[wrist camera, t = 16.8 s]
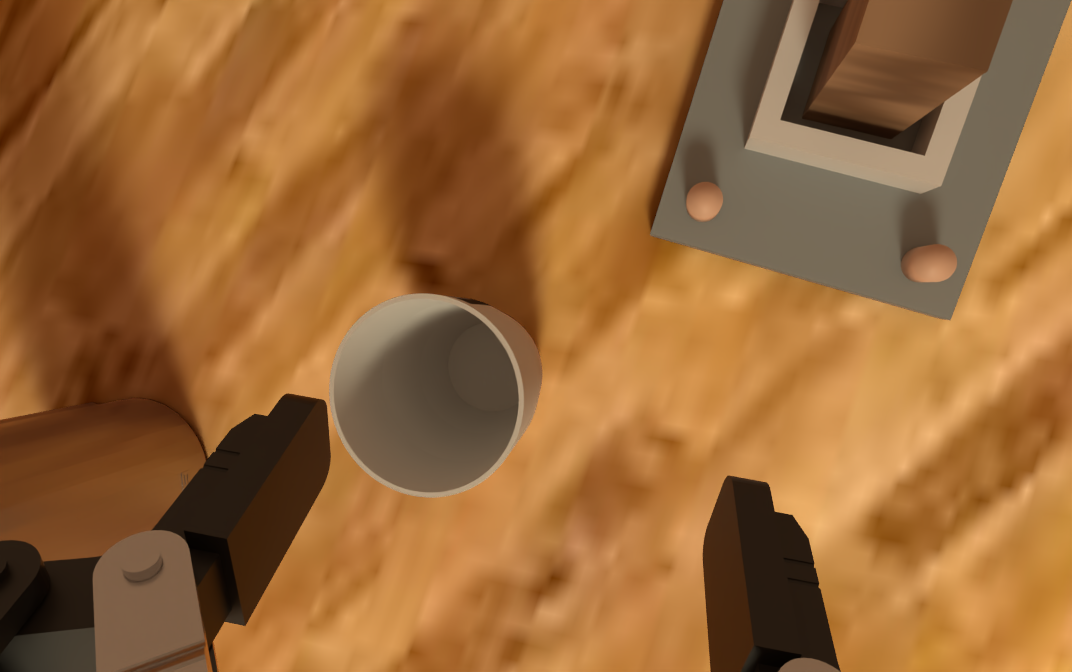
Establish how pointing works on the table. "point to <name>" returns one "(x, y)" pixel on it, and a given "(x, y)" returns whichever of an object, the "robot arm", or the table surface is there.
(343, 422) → the cup
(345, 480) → the table surface
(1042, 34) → the housing plate
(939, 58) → the brown block
